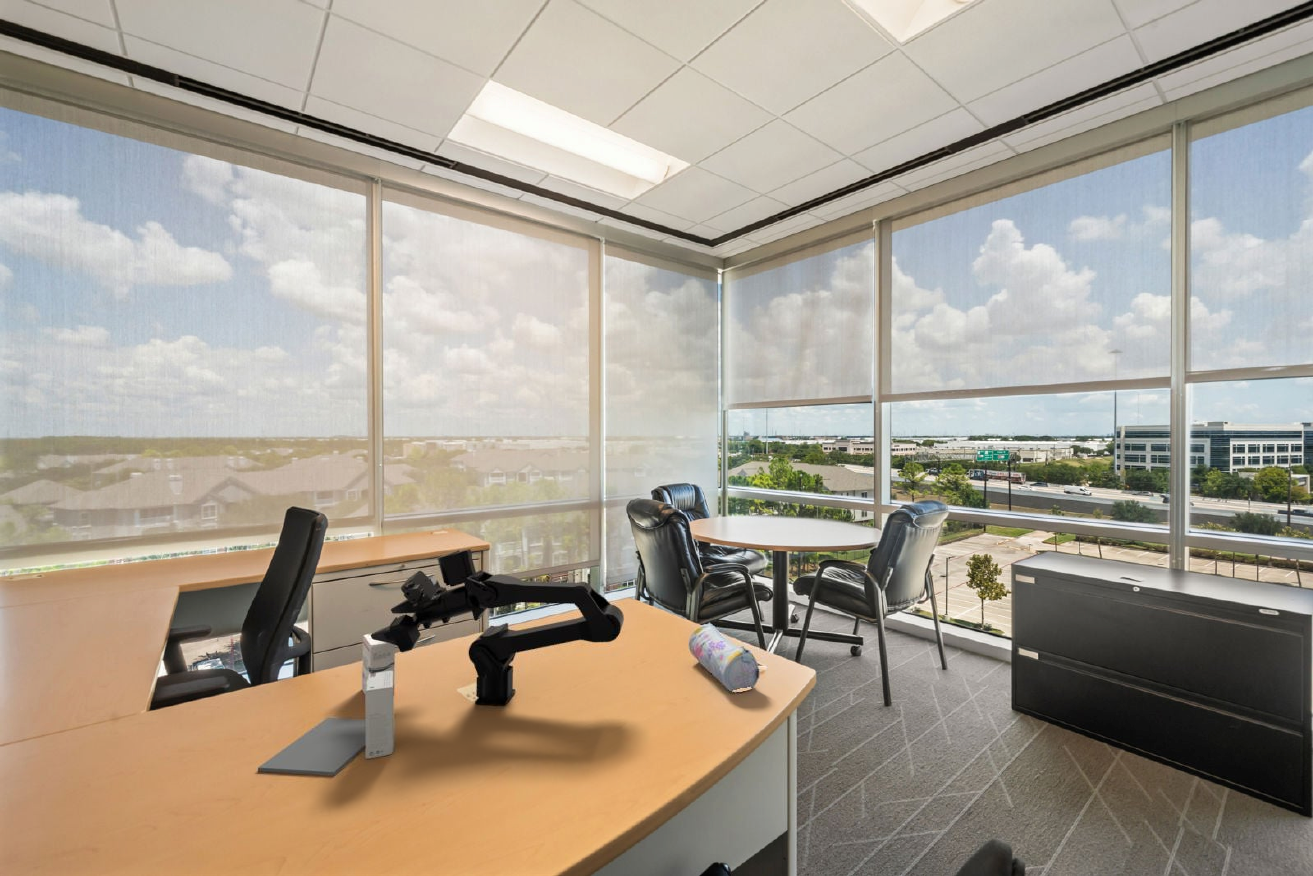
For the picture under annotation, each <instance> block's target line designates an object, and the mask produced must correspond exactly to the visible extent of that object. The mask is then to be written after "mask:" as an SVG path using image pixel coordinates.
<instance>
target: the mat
mask: <svg viewBox="0 0 1313 876" xmlns="http://www.w3.org/2000/svg"><path fill="white" fill-rule="evenodd" d="M365 743H366V719H364V718H363V719H362V718H361V719H360V718H357V719H356V718H341V717H340V718H339V717H326V718H325V719H324V720H322V721H321V722H319V723H318V724H317V725H315V726H314V727H313V728H311V729H310V730H308V731H307V732H305V733H304V734H303V735H301V736H300V737H299V738H297V739H296V740H294V741H293V742H291V743H290V744H289V745H288V746H286V747H285V748H283V749H281V750H280V751H279V752H278V753H276V754H275V755H273V756H272V757H270V758H269V759H268V760H266V761H265V762H264V763H262V764H261V765H259V766H258V767H257V772H261V773H263V772H264V773H280V774H281V773H282V774H293V775H294V774H295V775H296V774H297V775H298V774H299V775H312V776H313V775H315V776H327V777H328V776H329V777H335V776H336V775H337V774H338V773H339V772H340V771H341V770H342V769H344V768H345V767H346V766H347V765H348V764H349V763H350V762H352V761H353V760H354V759H355V758H356V757H357V756H358V755H359V754H361V753H362V752H363V751H364V750H366V747H365Z"/></svg>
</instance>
